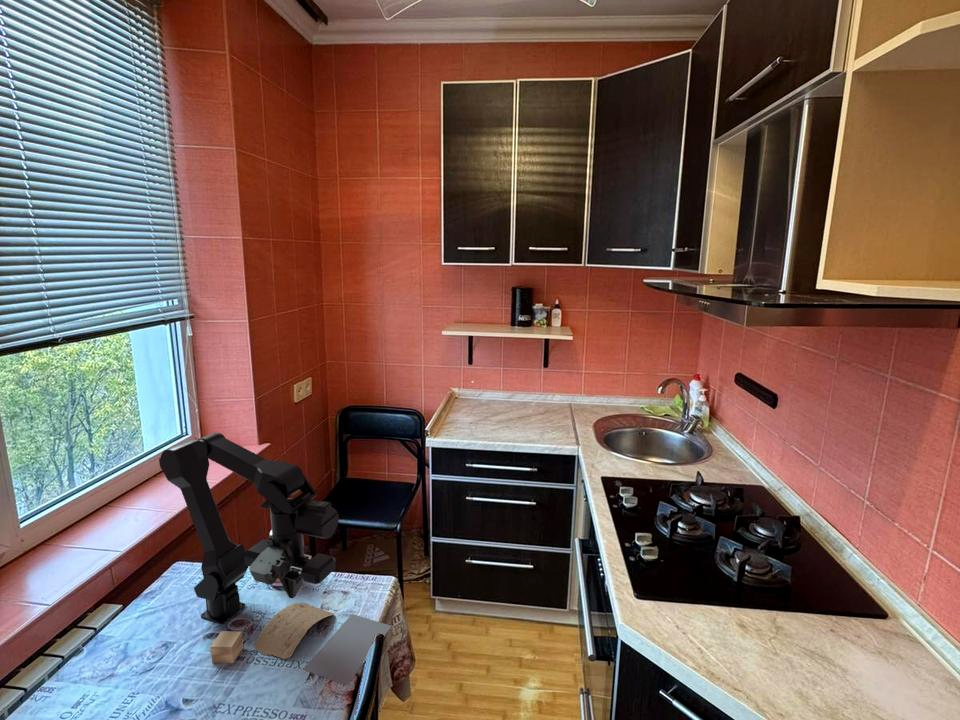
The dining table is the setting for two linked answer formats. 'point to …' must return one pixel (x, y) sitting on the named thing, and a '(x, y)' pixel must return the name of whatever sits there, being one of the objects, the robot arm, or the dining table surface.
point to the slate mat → (346, 649)
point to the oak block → (226, 647)
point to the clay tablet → (288, 629)
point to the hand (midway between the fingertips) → (292, 597)
